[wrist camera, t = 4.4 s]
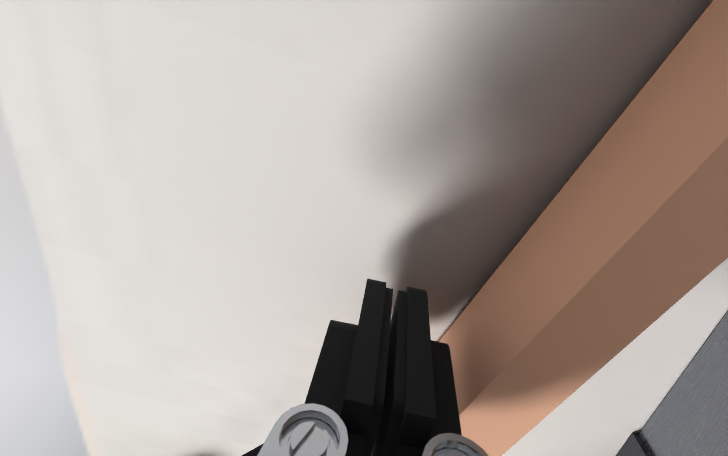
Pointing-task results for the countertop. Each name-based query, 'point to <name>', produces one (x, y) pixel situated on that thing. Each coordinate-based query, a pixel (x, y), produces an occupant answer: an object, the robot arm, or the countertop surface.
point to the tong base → (691, 408)
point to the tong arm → (604, 249)
